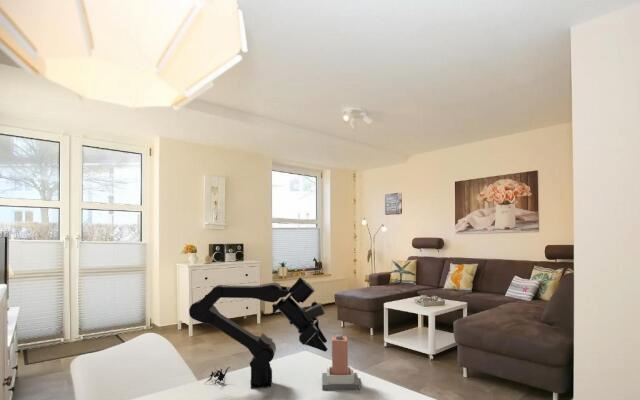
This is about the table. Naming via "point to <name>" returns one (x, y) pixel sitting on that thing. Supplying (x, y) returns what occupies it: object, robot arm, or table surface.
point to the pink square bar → (339, 355)
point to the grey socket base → (340, 380)
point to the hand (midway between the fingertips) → (326, 346)
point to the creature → (220, 374)
